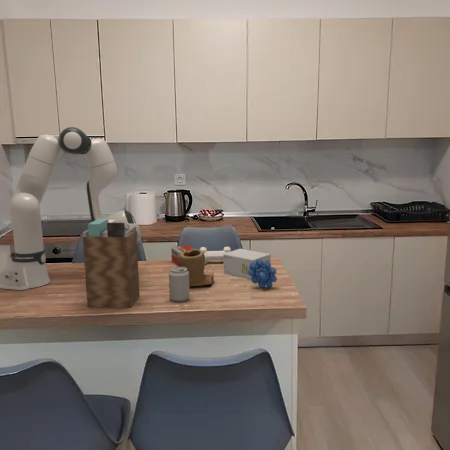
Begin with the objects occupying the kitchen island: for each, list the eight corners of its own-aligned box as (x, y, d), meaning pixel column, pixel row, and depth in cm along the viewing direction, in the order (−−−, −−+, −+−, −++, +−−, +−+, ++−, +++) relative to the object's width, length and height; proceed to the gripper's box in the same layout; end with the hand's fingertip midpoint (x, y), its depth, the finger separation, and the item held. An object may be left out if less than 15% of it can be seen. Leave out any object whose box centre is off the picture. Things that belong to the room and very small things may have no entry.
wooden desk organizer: (87, 306, 170) (81, 222, 165) (99, 295, 182) (94, 217, 176) (130, 307, 169) (126, 223, 163) (139, 296, 181) (135, 217, 175)
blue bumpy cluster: (247, 291, 186) (247, 261, 183) (248, 285, 192) (248, 257, 190) (277, 291, 185) (277, 262, 182) (276, 286, 191) (276, 257, 189)
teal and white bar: (88, 236, 166) (87, 224, 165) (107, 225, 185) (106, 214, 185) (99, 236, 166) (99, 224, 165) (117, 226, 185) (116, 214, 184)
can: (186, 303, 173) (185, 271, 171) (167, 302, 175) (165, 270, 172) (191, 296, 180) (191, 266, 178) (173, 295, 182) (172, 265, 180)
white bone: (230, 262, 232) (230, 245, 231) (231, 265, 223) (231, 248, 222) (200, 262, 231) (199, 246, 230) (199, 265, 222) (199, 248, 222)
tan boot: (178, 290, 187) (177, 254, 184) (177, 281, 199) (176, 247, 196) (216, 289, 189) (215, 252, 186) (213, 280, 200) (213, 246, 198)
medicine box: (171, 262, 231) (170, 246, 229) (186, 260, 234) (186, 244, 233) (182, 269, 217) (181, 253, 216) (198, 267, 221) (198, 251, 219)
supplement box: (222, 274, 210) (222, 253, 208) (240, 267, 220) (240, 248, 218) (254, 280, 199) (254, 259, 198) (270, 273, 210) (271, 253, 208)
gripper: (95, 227, 196) (83, 215, 183) (144, 227, 195) (135, 215, 182) (94, 241, 194) (81, 231, 181) (142, 242, 192) (133, 231, 179)
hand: (109, 223), depth 181 cm, fingers open, 8 cm apart
